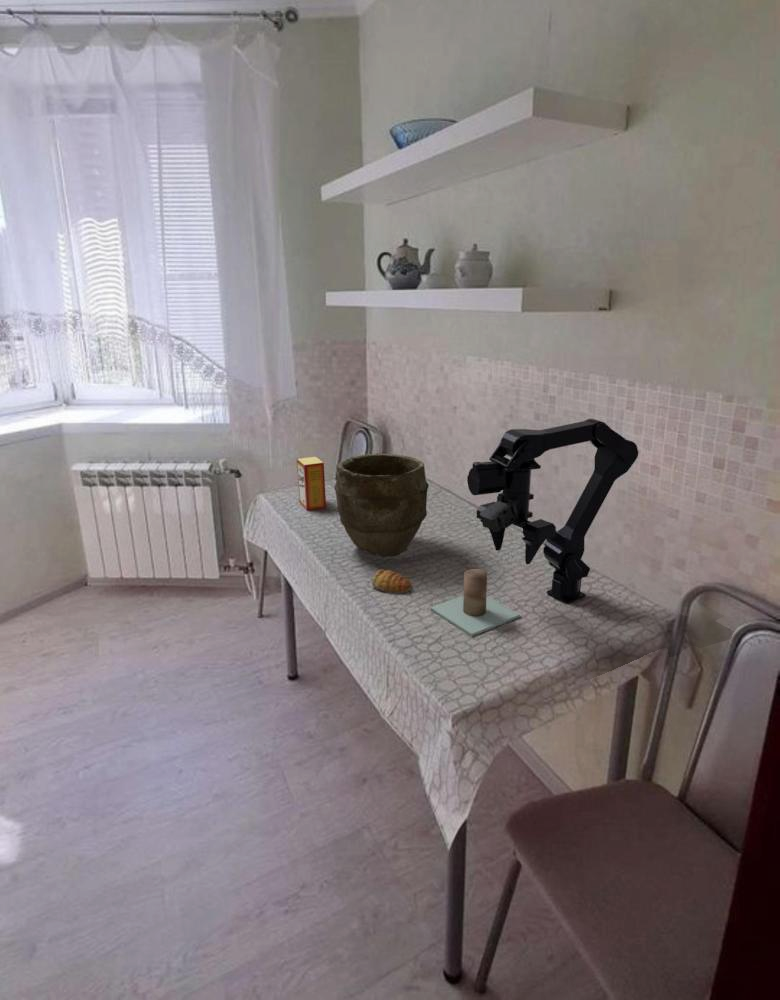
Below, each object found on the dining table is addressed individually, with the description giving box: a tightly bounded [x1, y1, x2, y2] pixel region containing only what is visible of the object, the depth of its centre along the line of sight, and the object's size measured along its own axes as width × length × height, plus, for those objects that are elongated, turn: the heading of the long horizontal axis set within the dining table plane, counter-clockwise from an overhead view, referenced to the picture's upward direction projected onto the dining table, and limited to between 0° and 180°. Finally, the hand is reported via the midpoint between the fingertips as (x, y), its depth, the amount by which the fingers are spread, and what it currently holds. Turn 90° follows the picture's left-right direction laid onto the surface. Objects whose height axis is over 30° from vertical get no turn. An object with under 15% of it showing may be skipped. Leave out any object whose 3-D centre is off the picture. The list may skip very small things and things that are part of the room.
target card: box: [429, 595, 521, 637], centre depth 137 cm, size 14×14×1 cm
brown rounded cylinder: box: [463, 568, 488, 616], centre depth 135 cm, size 5×5×9 cm
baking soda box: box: [296, 455, 327, 512], centre depth 206 cm, size 10×6×16 cm
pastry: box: [372, 569, 413, 594], centre depth 149 cm, size 9×7×4 cm
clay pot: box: [333, 452, 430, 558], centre depth 169 cm, size 25×25×25 cm
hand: (512, 556), depth 136 cm, fingers open, 9 cm apart
